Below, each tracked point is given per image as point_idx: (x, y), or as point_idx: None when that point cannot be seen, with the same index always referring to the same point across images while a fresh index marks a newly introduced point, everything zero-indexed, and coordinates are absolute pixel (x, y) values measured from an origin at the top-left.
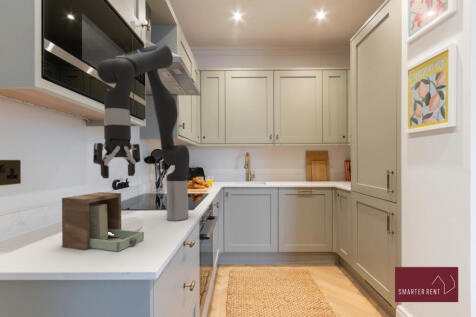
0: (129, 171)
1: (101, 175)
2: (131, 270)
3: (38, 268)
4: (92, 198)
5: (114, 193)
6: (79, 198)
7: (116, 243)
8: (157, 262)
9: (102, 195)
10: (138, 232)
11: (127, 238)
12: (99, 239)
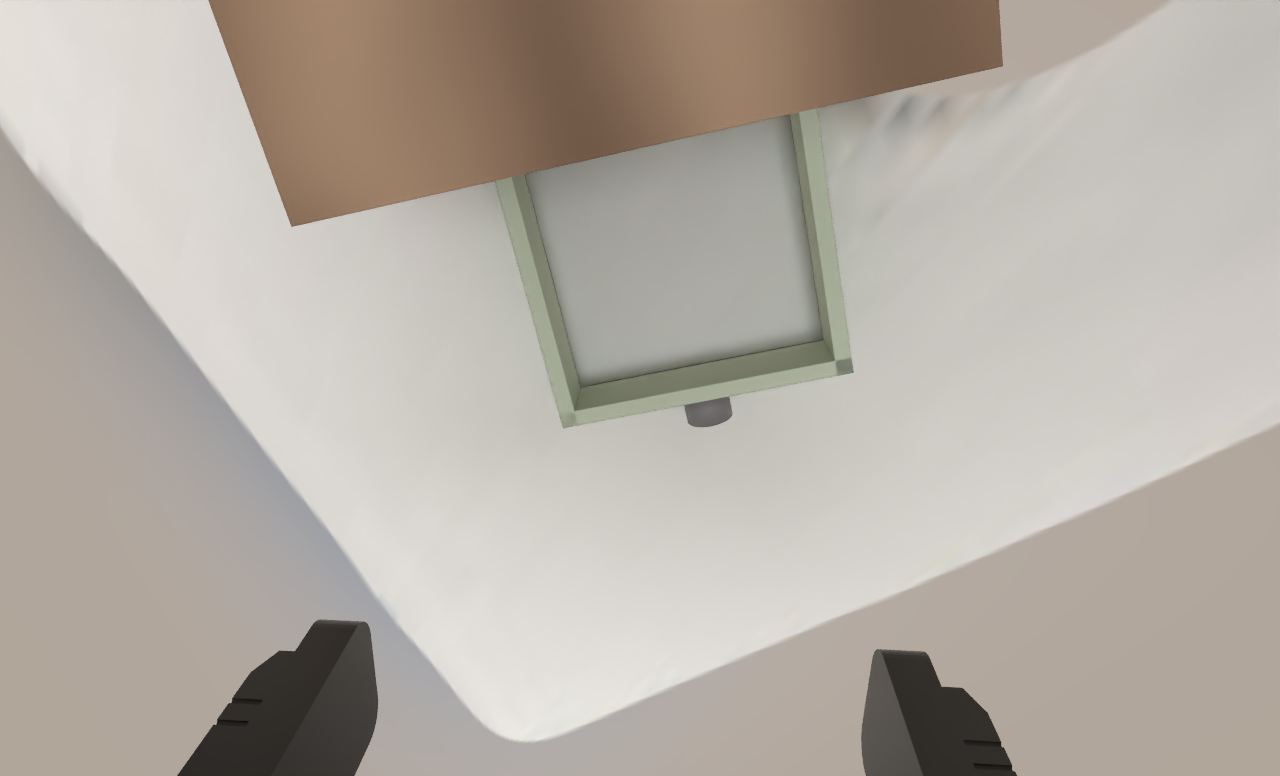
0: (888, 752)
1: (263, 674)
2: (452, 670)
3: (135, 221)
4: (409, 198)
5: (915, 2)
6: (273, 43)
7: (560, 409)
8: (589, 702)
9: (649, 55)
10: (831, 335)
11: (660, 407)
12: (525, 233)
